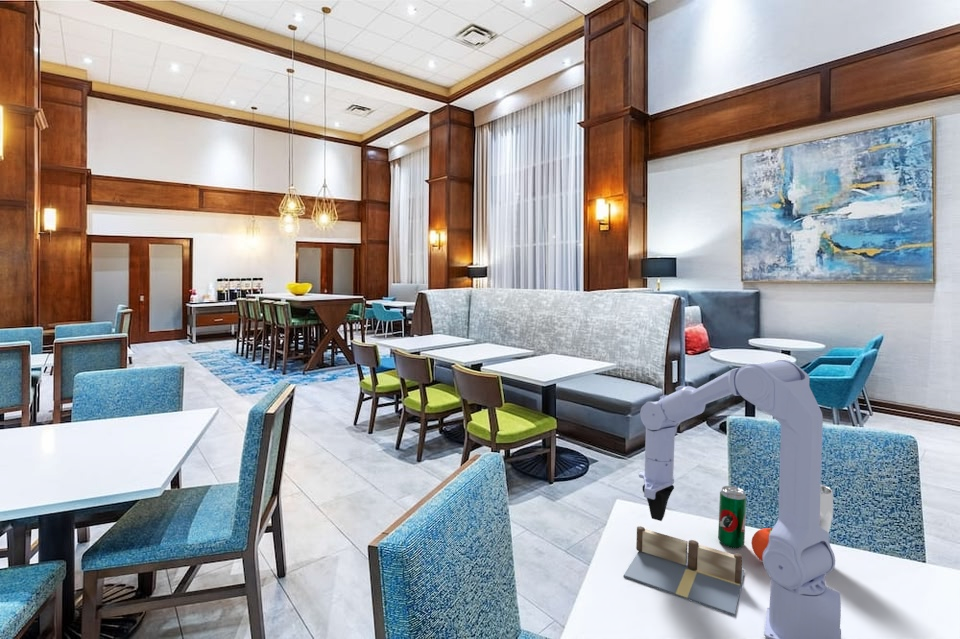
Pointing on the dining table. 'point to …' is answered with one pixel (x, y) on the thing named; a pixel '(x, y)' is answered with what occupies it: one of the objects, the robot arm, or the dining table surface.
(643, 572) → the card
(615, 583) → the dining table surface
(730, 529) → the soda can
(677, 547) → the panel
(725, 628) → the dining table surface
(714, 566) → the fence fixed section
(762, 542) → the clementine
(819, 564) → the robot arm
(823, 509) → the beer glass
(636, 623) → the dining table surface
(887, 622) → the dining table surface
